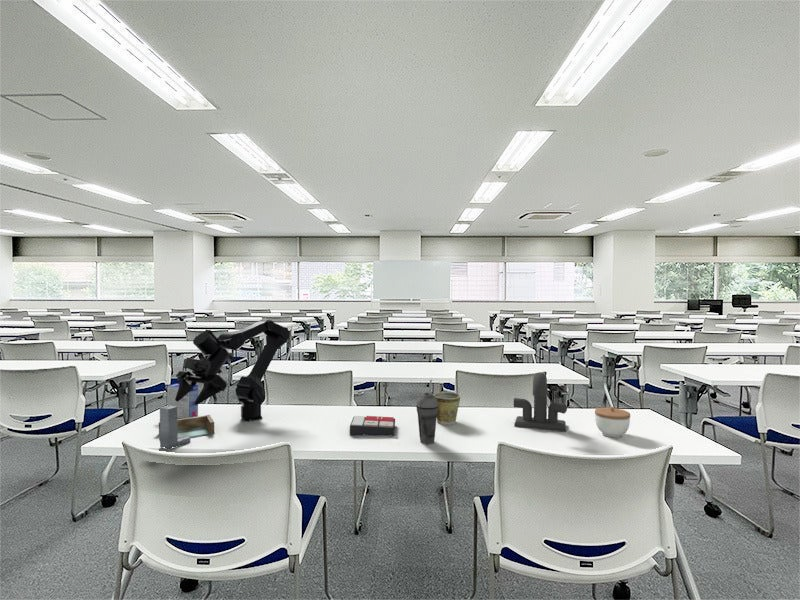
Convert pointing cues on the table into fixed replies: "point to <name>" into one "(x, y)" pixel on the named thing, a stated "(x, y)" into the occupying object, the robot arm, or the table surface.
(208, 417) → the tray
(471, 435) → the table surface
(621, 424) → the lidded jar
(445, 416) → the ceramic cup
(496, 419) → the table surface
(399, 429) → the table surface
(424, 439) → the beverage cup
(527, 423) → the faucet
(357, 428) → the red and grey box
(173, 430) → the angle bracket
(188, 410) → the ink cartridge box
